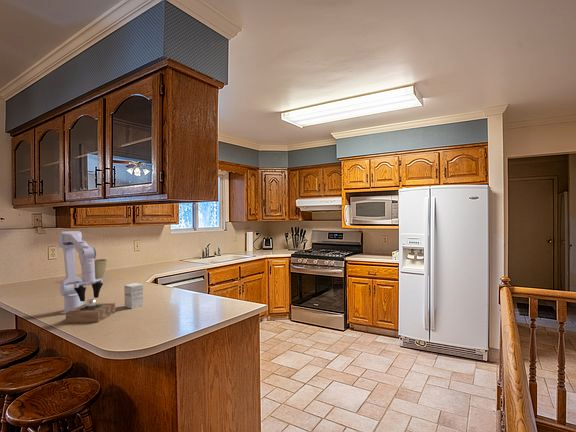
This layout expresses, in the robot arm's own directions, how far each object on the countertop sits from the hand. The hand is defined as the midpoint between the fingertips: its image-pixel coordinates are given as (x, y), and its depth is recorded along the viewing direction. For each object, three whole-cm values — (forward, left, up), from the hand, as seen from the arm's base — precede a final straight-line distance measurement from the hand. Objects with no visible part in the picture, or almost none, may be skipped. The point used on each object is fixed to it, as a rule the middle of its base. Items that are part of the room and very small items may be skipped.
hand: (89, 299), depth 165 cm
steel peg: (-5, -2, -7) cm, 9 cm away
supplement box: (-24, +11, -11) cm, 28 cm away
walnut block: (-5, -2, -11) cm, 12 cm away
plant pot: (-104, -56, -11) cm, 118 cm away
